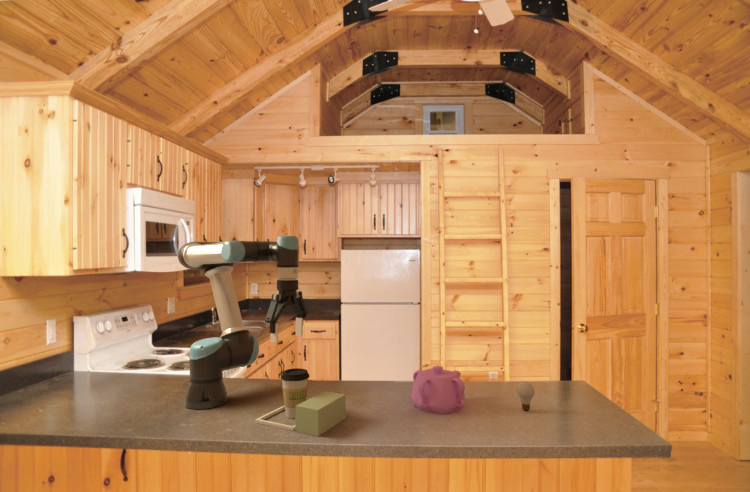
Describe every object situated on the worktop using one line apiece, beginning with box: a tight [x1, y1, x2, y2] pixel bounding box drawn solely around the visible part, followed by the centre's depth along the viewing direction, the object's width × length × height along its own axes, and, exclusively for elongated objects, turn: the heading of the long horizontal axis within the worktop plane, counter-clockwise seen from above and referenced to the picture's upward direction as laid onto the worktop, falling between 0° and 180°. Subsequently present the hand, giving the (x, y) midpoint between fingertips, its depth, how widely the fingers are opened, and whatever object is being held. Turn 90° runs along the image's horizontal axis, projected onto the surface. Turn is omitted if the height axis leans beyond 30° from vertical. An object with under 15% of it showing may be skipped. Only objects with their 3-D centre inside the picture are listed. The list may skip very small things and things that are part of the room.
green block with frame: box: [254, 390, 347, 437], centre depth 149 cm, size 25×16×8 cm, turn 63°
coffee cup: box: [280, 367, 310, 419], centre depth 154 cm, size 10×10×15 cm
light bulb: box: [516, 381, 536, 412], centre depth 156 cm, size 6×6×10 cm
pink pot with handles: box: [411, 365, 466, 415], centre depth 163 cm, size 19×21×14 cm
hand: (287, 339), depth 157 cm, fingers open, 13 cm apart
